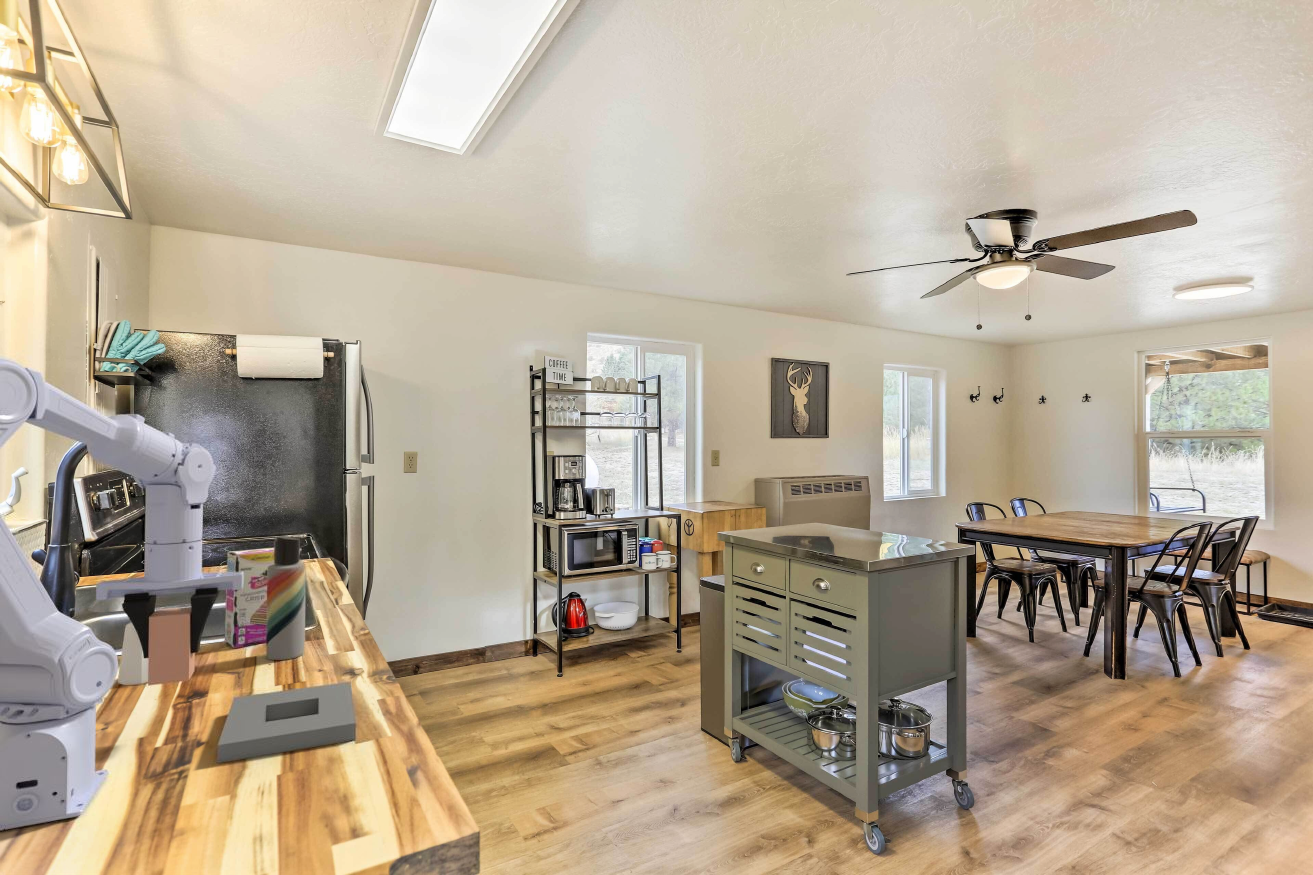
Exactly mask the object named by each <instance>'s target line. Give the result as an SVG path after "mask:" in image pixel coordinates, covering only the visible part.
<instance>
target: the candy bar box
mask: <svg viewBox="0 0 1313 875" xmlns="http://www.w3.org/2000/svg"><path fill="white" fill-rule="evenodd" d="M226 552H227V551H226ZM302 553H303V551H302V548H300V553H299V562H298V563H302V555H303V554H302ZM270 565H274V547H267V548H256V549H245V550H235V551H234V550H233V551H228V552H227V554H226V572H244V586H243V588H242V589H241V590H232V589H227V590H225V612H224V613H225V614H224V616H225V617H224V644H225V645H227V646H229V647H230V648H232V649H238V648H243V647H248V646H254V645H258V644H263V643H265V644H266V627H267V569H268V566H270Z"/></svg>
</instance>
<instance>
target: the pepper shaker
mask: <svg viewBox="0 0 1313 875" xmlns="http://www.w3.org/2000/svg"><path fill="white" fill-rule="evenodd" d="M123 635H124V636H123V640H122V648H121V655H120V662H119V668H118V676H117V684H120V685H123V686H135V685H137V686H138V685H143V684H148V658H144V656H143V650H142V646H141V643H140V640H139V637H138V635H137V632H136V630H135V628H134V626H133V624H132V622H131V621H130V622H129V623H126V625H125V628H124V634H123Z"/></svg>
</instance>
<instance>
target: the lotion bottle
mask: <svg viewBox="0 0 1313 875" xmlns="http://www.w3.org/2000/svg"><path fill="white" fill-rule="evenodd" d="M300 541H301V540H300V538H298V537H296V536H286V535H285V536H284V535H283V536H281V535H280V536H276V539H275V540H274V541H273V548H274V565H270V566H268V569H267V627H266V642H265V645H266V646H265V649H266V650H265V652H266V658H267V659H268V660H271V661H272V660H273V661H285V660H291V659H295V658H299V657H301V656H303V655H304V653H305V648H306V646H305V645H306V644H305V643H306V582H307V580H306V579H307V578H306V574H307V573H306V572H307V570H306V569H307V568H306V564H305V563H303V562H301V563H298V562H299V553H300V549H301V548H300V546H301V544H300V543H301V542H300Z"/></svg>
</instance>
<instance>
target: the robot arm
mask: <svg viewBox="0 0 1313 875" xmlns="http://www.w3.org/2000/svg"><path fill="white" fill-rule="evenodd" d="M145 420H146V418H145V417H143V416H142V415H140V414H137V413H135V414H134V413H126V414H122V413H121V414H120V413H119V414H115V415H111V416H106V415H105V414H103V413H101V412H99V411H98V410H96V409H94V408H92V407H91V406H89V405H87V404H86V403H84V402H82V401H80V400H78V399H77V398H75V397H73V396H72V395H70V394H68V393H66V392H65V391H63V390H61V389H59V388H57V387H56V386H54V385H52V384H50V383H49V382H47V381H46V380H45V379H44V376H43V373H41V372H40V371H38V370H35V369H32V368H29V367H24V366H23V365H22V364H20V363H19V362H17V361H15V360H13V359H11V358H7V357H5V356H0V449H2V447H3V446H4V445H5V444H6V443H7V442H8V441H10V439H11V438H12V437H13V435H15V434H16V432H17V431H18V430H19V429H20V428H21V427H22V426H23V425H24V424H25V423H27V424H28V425H29V424H30V425H33V426H34V427H37V428H40V429H43V430H46V431H49V432H51V433H55V434H57V435H60V436H63V437H66V438H68V439H71V440H73V441H76V442H79V443H81V444H85V445H86V448H87V453H88V454H89V456H90V457H91V459H93V460H94V461H95V462H98V463H101V464H103V465H105V466H108V467H110V468H113V469H115V470H117V471H119V472H121V473H124V474H128V475H130V476H133V480H134V482H135V483H136V485H137V486H139V487H140V488H141V489H145V511H144V512H145V516H144V517H145V520H144V521H145V522H144V524H145V525H144V530H145V531H144V572H143V573H144V576H139V577H130V578H121V579H112V580H101V581H99V582H98V583H96V584H95V585H96V586H95V587H96V588H95V589H96V590H95V592H96V593H95V600H96V601H105V600H109V599H117V598H124V599H123V603H122V604H121V607H122V609H123V612H124V613H125V615H126V616H127V617H128V619H129V620H130V623H131V622H132V624H133V626H134V628H135V630H136V632H137V635H138V637H139V640H140V643H141V646H142V650H143V656H144V658H148V657H149V617H150V616H151V615H152V614H153V613H154V612H155V611H156V602H157V596H160V595H171V594H173V595H174V594H185V593H194V594H192V595H191V596H190V607H191V613H192V632H191V642H190V647H191V653H195V654H196V653H198V652H199V650H200V649H201V640H202V636H203V632H204V630H205V626H206V624H207V620H208V618H209V615H210V613H211V611H212V608H213V606H214V605H215V602H216V600H217V598H218V597H219V594H220V593H221V591H226V590H227V589H232V590H241V589H242V588H243V586H244V572H227V571H226V572H203V528H204V526H203V524H204V523H203V522H204V521H203V518H204V516H203V515H204V503H206V502H207V498H208V497H209V488H210V485H211V483H212V481H213V479H214V477H215V474H216V469H217V466H216V464H214V460H213V457H212V455H211V453H210V451H208V450H207V449H206V448H205V447H204V446H202V445H200V444H199V443H194V442H192V443H191V442H190V443H189V442H188V443H187V442H185V443H184V442H181V441H180V440H178V439H177V438H175V437H176V436H175V435H174V434H173V433H171V432H169V431H161V430H158V429H157V428H154V427H152V426H151V425H149V424H146V423H145ZM208 499H209V498H208ZM118 671H119V661H118V654H117V653H116V651H115V649H114V648H113V646H111V644H109V643H106V642H104V641H102V640H100V639H99V638H98V637H96V635H95V634H94V632H93V630H92V629H91V627H90V626H88V625H86V624H84V623H82V622H80V621H77V620H76V619H74V618H71V617H70V616H67V615H66V614H64V613H62V612H60V611H59V610H58V608H57V607H56V605H55V603H54V602H53V600H52V599H51V597H50V595H49V593H48V591H47V590H46V588H45V587H44V585H43V583H42V581H41V580H40V578H39V577H38V575H37V573H36V571H35V570H34V568H33V566H32V565H31V563H30V561H29V559H28V558H27V556H26V555H25V553H24V551H23V549H22V548H21V547H20V545H19V542H18V541H17V539H16V538H15V536H14V535H13V532H12V530H11V529H10V527H9V526H8V525H7V522H6V521H5V519H4V518H3V515H2V514H1V513H0V831H4V829H5V830H10V829H11V830H12V829H15V828H21V827H25V826H31V825H38V824H42V823H48V822H53V821H58V820H59V821H60V820H65V819H69V818H74V817H79V816H81V815H82V814H83V813H84V812H85V810H86V809H87V807H88V806H89V804H90V803H91V801H92V799H93V798H94V797H95V795H96V794H97V792H98V790H99V788H100V787H101V786H102V784H103V782H104V781H105V780H106V778H107V776H108V775H109V770H108V769H99V770H96V735H97V734H96V731H97V730H96V726H97V722H96V721H97V705H99V704H101V703H103V702H104V701H103V698H104V697H105V696H106V695H107V693H108V692H109V691H110V690H111V689H112V687H113V684H114V682H115V681H116V678H117V675H118Z"/></svg>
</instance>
